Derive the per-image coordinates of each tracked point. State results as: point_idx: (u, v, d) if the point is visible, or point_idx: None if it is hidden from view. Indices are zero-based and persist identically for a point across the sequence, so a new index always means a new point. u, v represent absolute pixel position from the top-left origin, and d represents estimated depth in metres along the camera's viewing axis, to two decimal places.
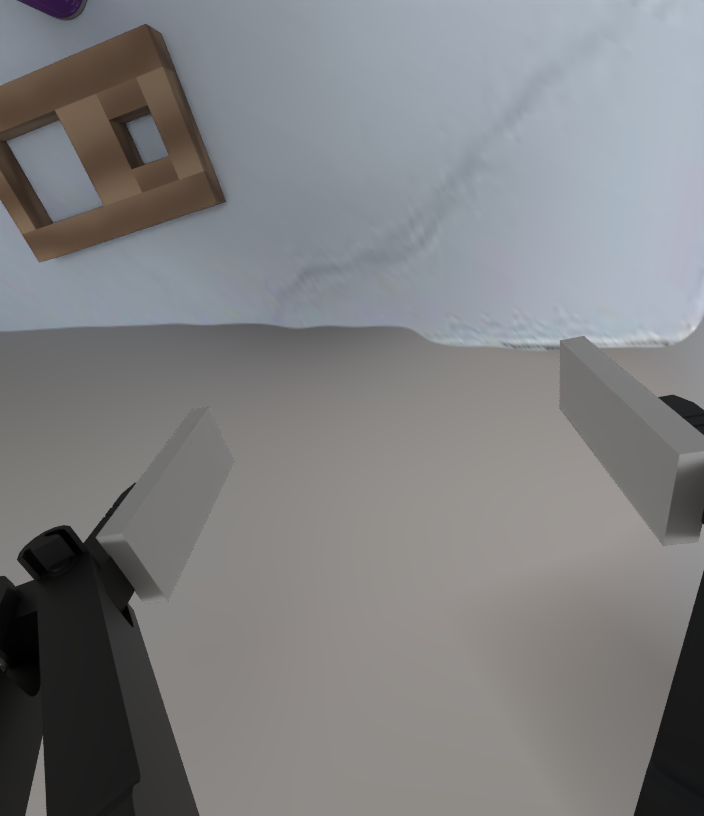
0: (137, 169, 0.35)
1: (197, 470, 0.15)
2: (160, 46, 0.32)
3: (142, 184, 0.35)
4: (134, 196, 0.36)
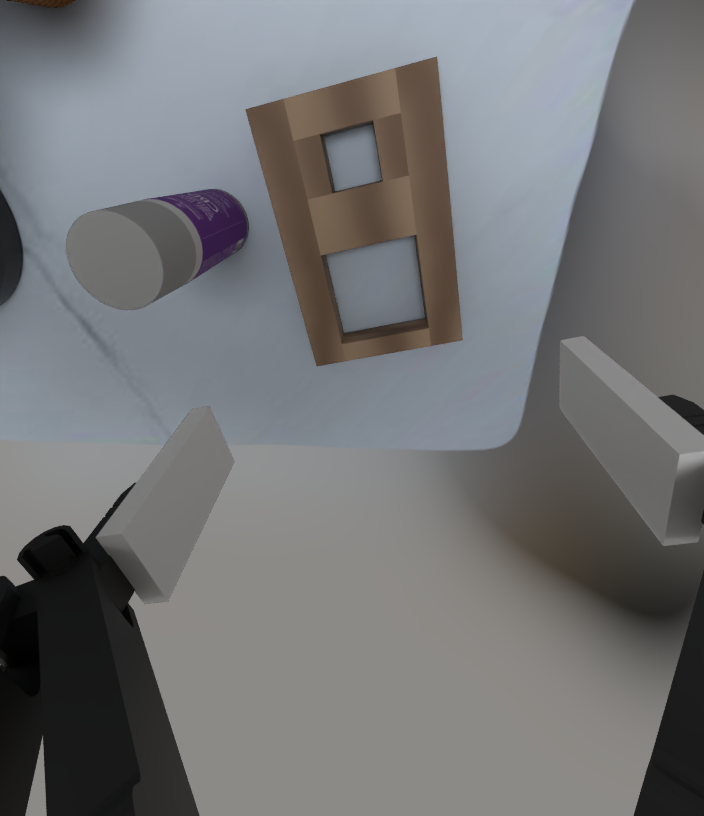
0: (383, 172, 0.28)
1: (197, 470, 0.15)
2: None
3: (400, 171, 0.28)
4: (411, 188, 0.28)
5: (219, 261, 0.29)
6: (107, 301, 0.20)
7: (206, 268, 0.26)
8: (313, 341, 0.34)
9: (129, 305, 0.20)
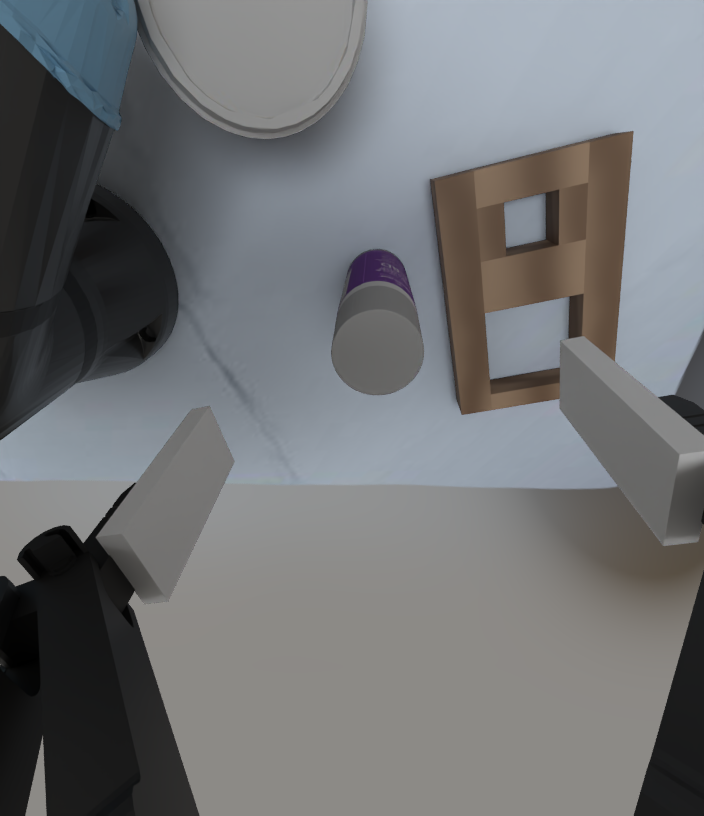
0: (561, 237, 0.29)
1: (197, 470, 0.15)
2: (448, 176, 0.28)
3: (577, 236, 0.29)
4: (586, 251, 0.29)
5: None
6: (358, 387, 0.21)
7: None
8: (462, 392, 0.35)
9: (379, 391, 0.21)
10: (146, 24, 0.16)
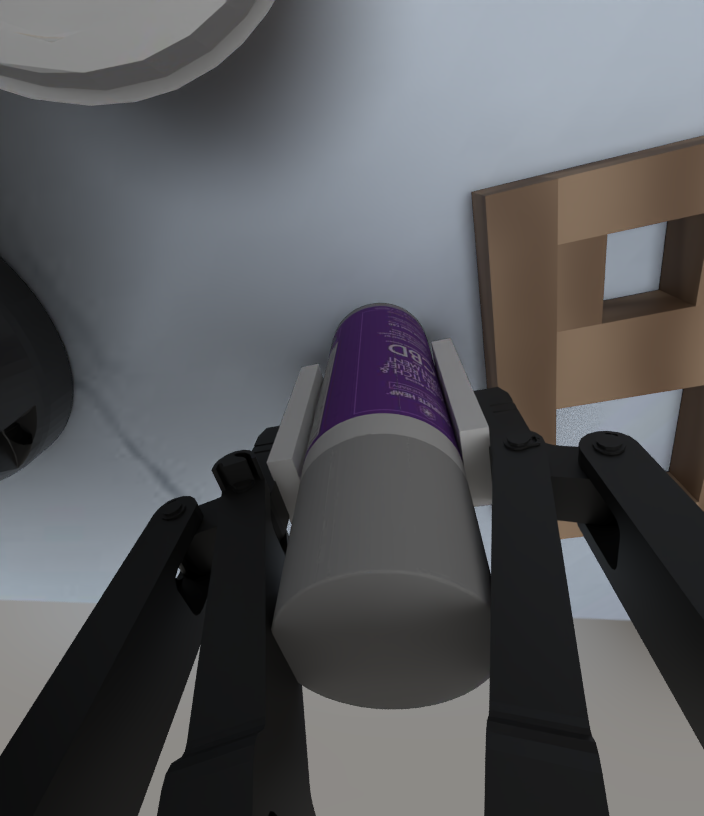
0: (701, 293, 0.17)
1: None
2: (506, 187, 0.16)
3: None
4: None
5: None
6: (341, 697, 0.09)
7: None
8: None
9: (391, 705, 0.09)
10: None
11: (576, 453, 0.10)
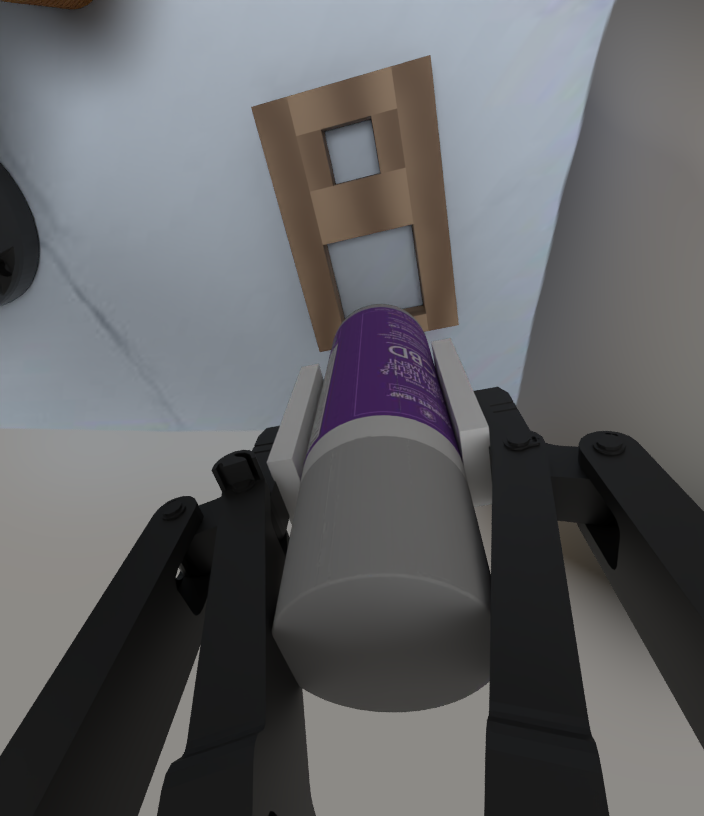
0: (381, 165, 0.30)
1: None
2: None
3: (397, 164, 0.30)
4: (408, 179, 0.30)
5: None
6: (342, 700, 0.09)
7: None
8: (316, 328, 0.36)
9: (391, 708, 0.09)
10: None
11: (576, 453, 0.10)
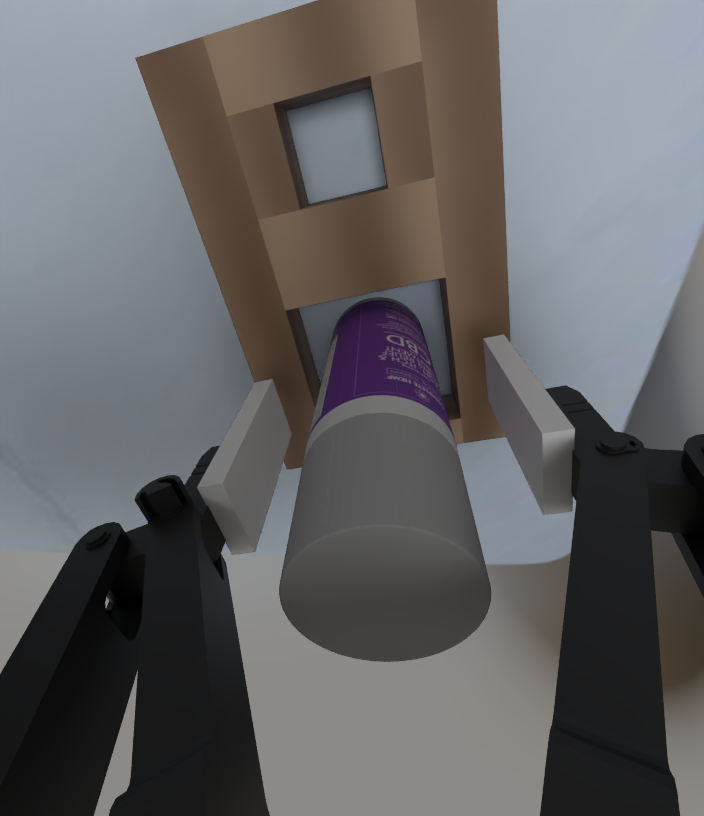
0: (389, 173, 0.16)
1: (267, 436, 0.16)
2: None
3: (419, 170, 0.16)
4: (439, 199, 0.16)
5: None
6: (343, 650, 0.10)
7: None
8: None
9: (388, 657, 0.10)
10: None
11: (679, 454, 0.10)
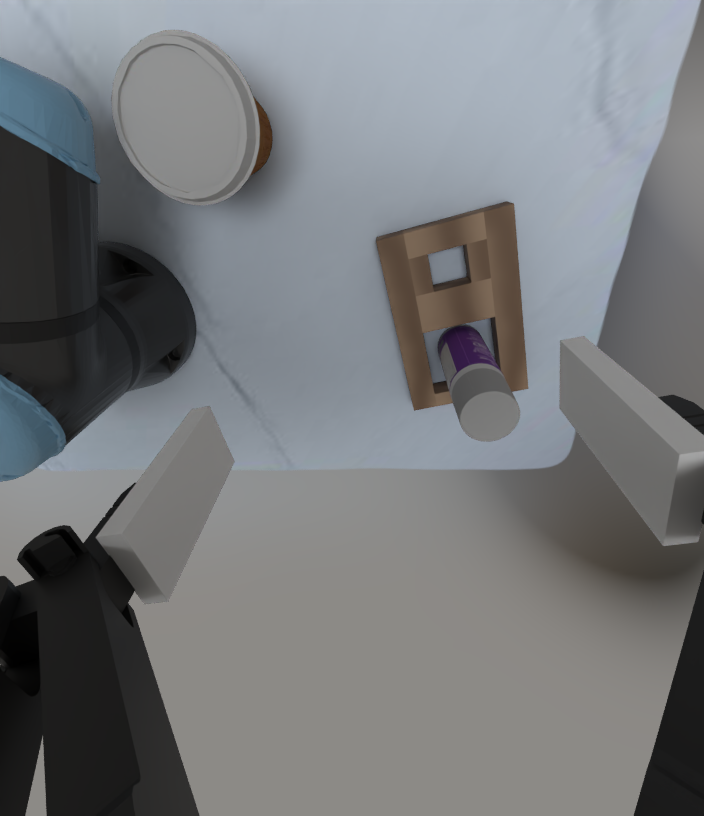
0: (472, 277, 0.39)
1: (197, 470, 0.15)
2: (387, 236, 0.39)
3: (484, 276, 0.39)
4: (492, 286, 0.39)
5: None
6: (475, 437, 0.33)
7: None
8: (412, 392, 0.45)
9: (489, 439, 0.33)
10: (117, 133, 0.27)
11: None
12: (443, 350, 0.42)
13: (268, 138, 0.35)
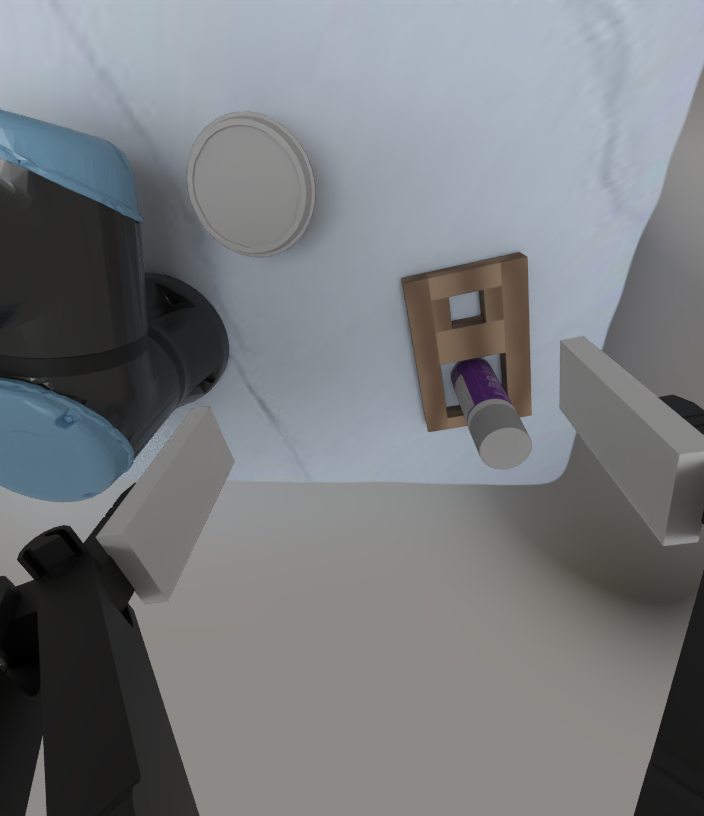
0: (487, 318, 0.44)
1: (197, 470, 0.15)
2: (412, 278, 0.43)
3: (498, 317, 0.44)
4: (504, 326, 0.44)
5: None
6: (492, 465, 0.38)
7: None
8: (427, 416, 0.50)
9: (503, 467, 0.38)
10: (190, 196, 0.31)
11: None
12: (458, 381, 0.46)
13: None
